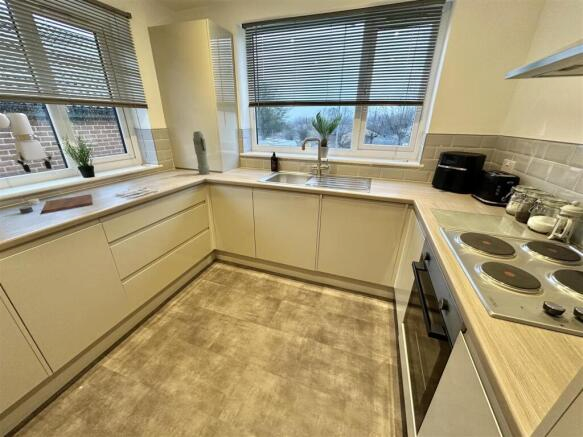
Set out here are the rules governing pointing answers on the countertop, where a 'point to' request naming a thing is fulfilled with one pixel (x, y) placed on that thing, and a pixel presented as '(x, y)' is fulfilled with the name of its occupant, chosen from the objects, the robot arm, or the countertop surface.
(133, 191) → the knife set
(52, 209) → the board
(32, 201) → the white stone
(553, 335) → the countertop surface
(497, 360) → the countertop surface
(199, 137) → the grey statue
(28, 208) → the black stone
